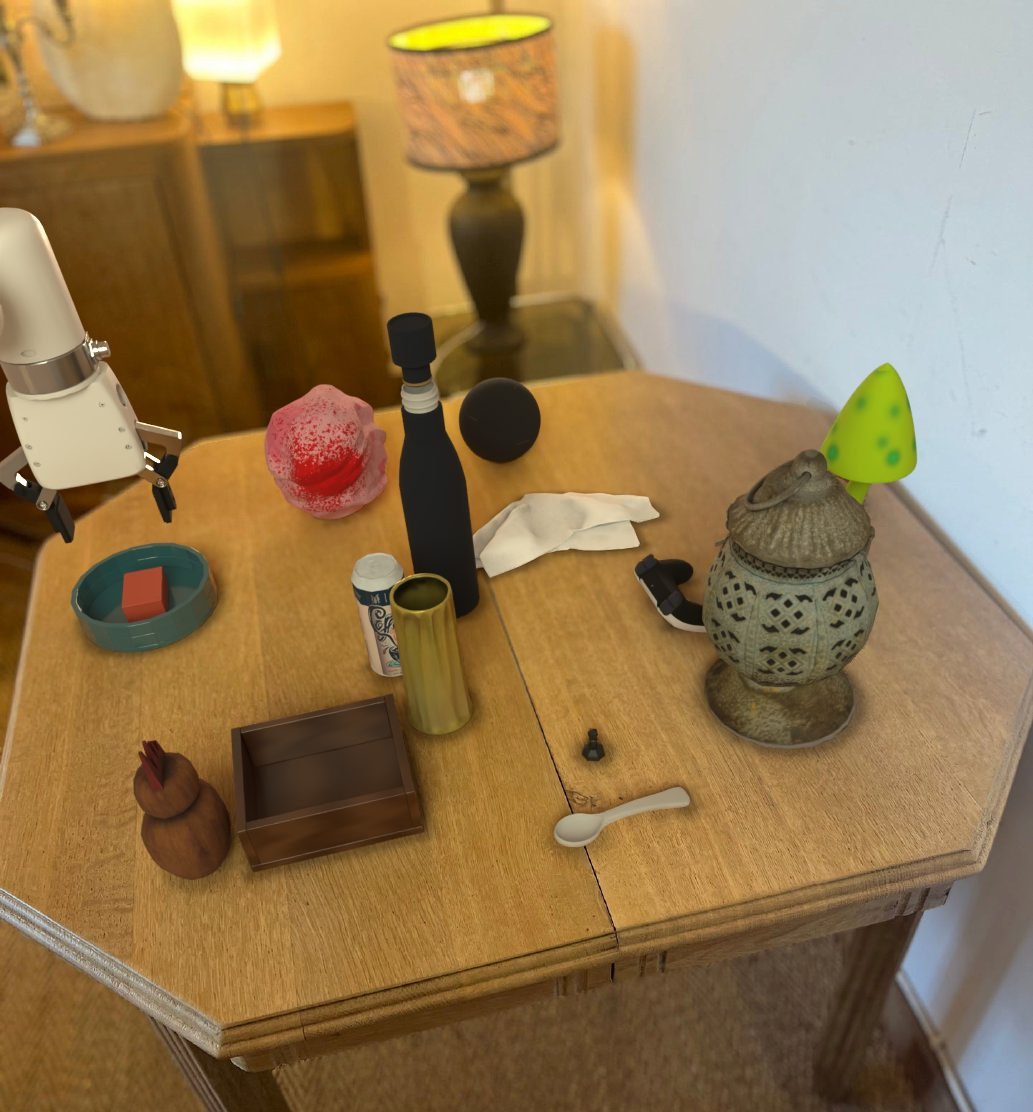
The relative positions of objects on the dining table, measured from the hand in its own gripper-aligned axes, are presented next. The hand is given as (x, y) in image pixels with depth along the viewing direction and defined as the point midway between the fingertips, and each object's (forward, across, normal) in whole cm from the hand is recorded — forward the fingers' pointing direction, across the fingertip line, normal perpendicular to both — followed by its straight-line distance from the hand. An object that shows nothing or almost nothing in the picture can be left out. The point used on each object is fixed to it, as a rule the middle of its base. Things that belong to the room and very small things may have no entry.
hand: (120, 525), depth 98 cm
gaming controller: (+11, -53, +18) cm, 57 cm away
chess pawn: (+11, -39, +34) cm, 53 cm away
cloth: (+11, -44, 0) cm, 45 cm away
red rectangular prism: (+10, 0, 0) cm, 10 cm away
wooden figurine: (+10, -4, +36) cm, 38 cm away
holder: (+10, -16, +33) cm, 38 cm away
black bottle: (+11, -31, +9) cm, 34 cm away
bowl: (+10, 0, 0) cm, 11 cm away
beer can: (+11, -24, +17) cm, 31 cm away
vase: (+11, -27, +25) cm, 38 cm away
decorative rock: (+11, -22, -13) cm, 27 cm away
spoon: (+11, -39, +42) cm, 58 cm away
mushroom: (+11, -69, +21) cm, 73 cm away
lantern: (+11, -57, +32) cm, 66 cm away
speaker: (+11, -43, -17) cm, 47 cm away
